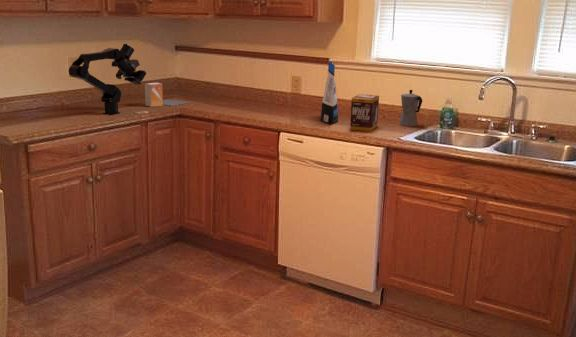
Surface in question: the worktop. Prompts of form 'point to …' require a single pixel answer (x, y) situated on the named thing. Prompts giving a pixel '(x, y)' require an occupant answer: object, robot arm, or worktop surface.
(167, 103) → the mat
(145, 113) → the coaster
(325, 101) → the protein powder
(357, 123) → the supplement box
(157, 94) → the small box
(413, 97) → the coffeepot
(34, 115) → the worktop surface
